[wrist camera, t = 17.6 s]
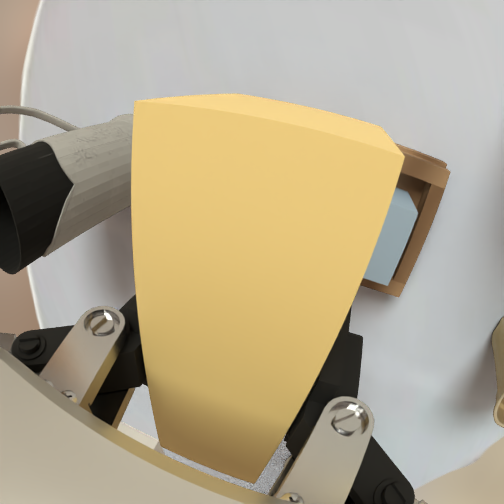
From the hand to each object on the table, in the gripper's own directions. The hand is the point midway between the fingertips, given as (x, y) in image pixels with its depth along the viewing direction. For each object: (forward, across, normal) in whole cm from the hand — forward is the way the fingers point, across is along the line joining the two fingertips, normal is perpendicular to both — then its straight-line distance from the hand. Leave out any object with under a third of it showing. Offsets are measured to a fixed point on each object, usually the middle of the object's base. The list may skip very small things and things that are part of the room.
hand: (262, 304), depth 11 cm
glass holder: (+15, +19, 0) cm, 24 cm away
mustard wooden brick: (0, 0, 0) cm, 1 cm away
